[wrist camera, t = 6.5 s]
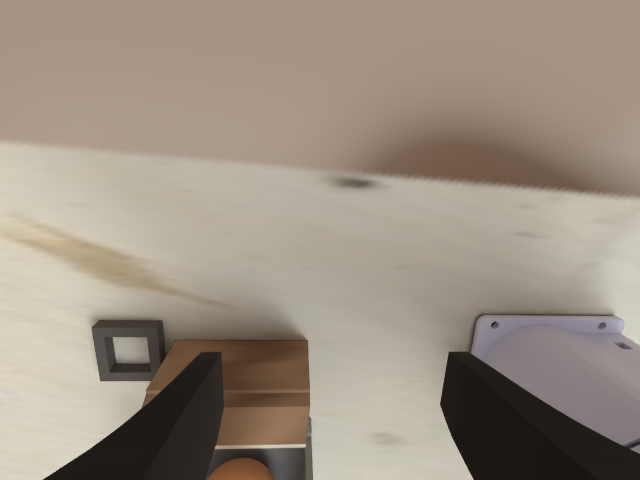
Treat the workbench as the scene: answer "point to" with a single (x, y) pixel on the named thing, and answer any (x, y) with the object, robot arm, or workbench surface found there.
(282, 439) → the ramp
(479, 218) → the workbench surface
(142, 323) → the dark gray picture frame
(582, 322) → the robot arm
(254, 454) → the gray open storage bin
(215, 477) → the ball
